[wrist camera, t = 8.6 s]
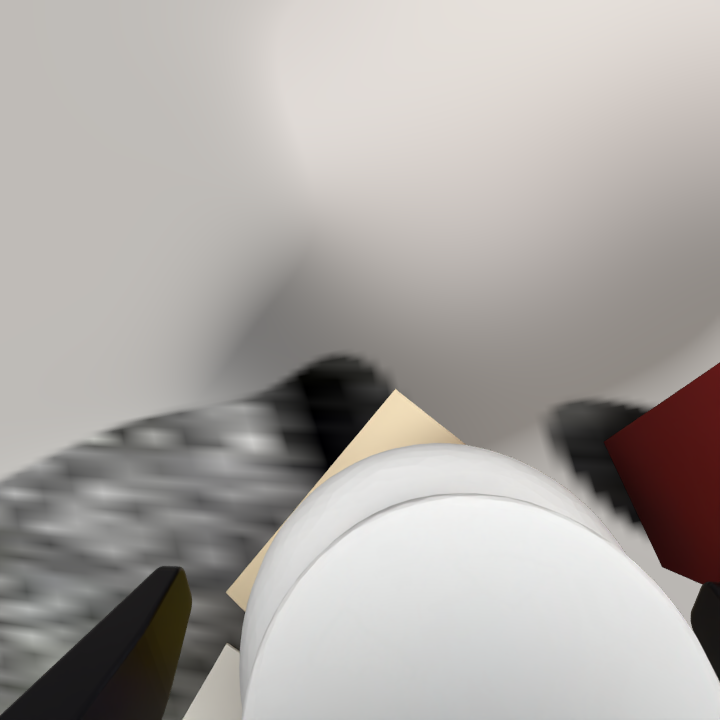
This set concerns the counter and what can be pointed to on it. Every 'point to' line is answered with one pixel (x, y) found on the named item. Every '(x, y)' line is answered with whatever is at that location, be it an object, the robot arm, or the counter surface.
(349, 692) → the supplement bottle
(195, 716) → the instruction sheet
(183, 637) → the robot arm
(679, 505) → the french fries
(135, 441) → the counter surface
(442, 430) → the base block
